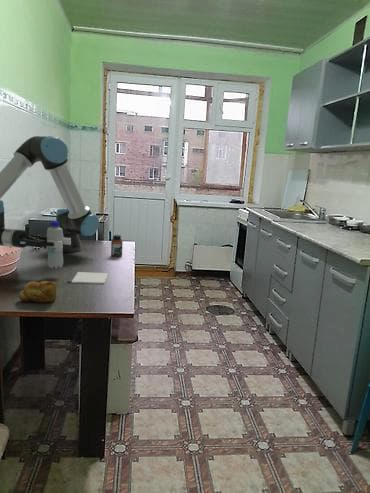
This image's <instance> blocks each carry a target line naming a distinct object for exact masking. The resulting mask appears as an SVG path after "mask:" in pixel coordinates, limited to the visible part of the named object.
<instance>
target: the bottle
mask: <svg viewBox="0 0 370 493" xmlns="http://www.w3.org/2000/svg"><path fill="white" fill-rule="evenodd" d="M49 223H50V224H49V225H50V226H49V227H48V228H47V231H46V235H47V240H52V241H63V231H62V228H60V227H59V222H57V221H56V220H53V221H50V222H49ZM63 254H64V252H63V248H53V247H47V266H48V268H51V269H52V270H53V269H54V268H55V269H56V270H57V269H58V268H59V269H61V268H62V267H63V266H64V256H63Z"/></svg>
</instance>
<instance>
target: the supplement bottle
mask: <svg viewBox="0 0 370 493" xmlns="http://www.w3.org/2000/svg"><path fill="white" fill-rule="evenodd" d="M112 236H113V237H112V239H111V242H110V246H111V248H110V256H111V257H115V258H119V257H122V256H123V239H122V236H121V234H113V235H112Z"/></svg>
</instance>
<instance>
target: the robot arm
mask: <svg viewBox="0 0 370 493" xmlns="http://www.w3.org/2000/svg"><path fill="white" fill-rule="evenodd" d="M68 153H69V148H68V146H67V144H66V143H65V141H64V140H63V139H61V138H59V137H57V136H51V135H48V136H46V135H45V136H40V135H36V136H32V137H31V136H30V137H29V138H28V139H27V140H25V141H24V142H23V143H22V144H21V145H20V146H19V147H18V148H17V149H16V150H15V151H14V152H13V157H12V159H10V160H9V161H8V163H7V164H6V165H5V167H3V168H2V169H1V171H0V246H2V247H3V246H4V247H9V248H11V249H12V247H13V248H22V249H24V248H26V247H32V248H40V249H42V248H43V249H45V250H46V249H47V248H48V247H53V248H63V253H76V252H80V251H82V242H81V239H80V237H79V235H82V236H85V237H86V236H92V235H94V234H96V232H97V231H98V230H99V226H100V219H99V217H98V215H96V214H94V213H92V211H91V208H90V207H89V206H88V205H85V203H84V200H83V198H82V196H81V194H80V192H79V190H78V188H77V185H76V183H75V181H74V178H73V176H72V174H71V172H70V169H69V168H68V165H67V163H68V162H69V159H68V156H69V155H68ZM39 162H40V163H41V164H42V166H43V168H44V170H45V171H48V172H49V173H50V175H51V177H52V179H53V182H54V184H55V185H56V187H57V190H58V192H59V194H60V196H61V198H62V199H63V202H64V204H65V206H66V208H58V209H57V210H56V215H55V217H56V218H55V219H56V220H55V221H57V222H59V227H60V228H62V231H63V241H52V240H47V234H40V233H37V234H29V233H28V232H27V230H23V229H16V228H5V205H4V201H3V200H1V199H2V198H3V197H4V196H5V195H6V194H7V192H8V191H9V190H10V189H11V188H12V186H13V185H15V183H16V181H18V180H19V178H20V177H21V176H22V175H23V173H24V172H25V171H26V170H27V169H28V168H32V167H33V165H35V164H36V163H39Z"/></svg>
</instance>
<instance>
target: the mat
mask: <svg viewBox="0 0 370 493" xmlns="http://www.w3.org/2000/svg"><path fill="white" fill-rule="evenodd" d="M108 276H109V272H87V271H86V272H85V271H74V272H73V273H72V274H71V276H70V277H69V279H68V280H67V283H68V284H95V285H105V284H106V281H107V280H108V279H107V278H108Z"/></svg>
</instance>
